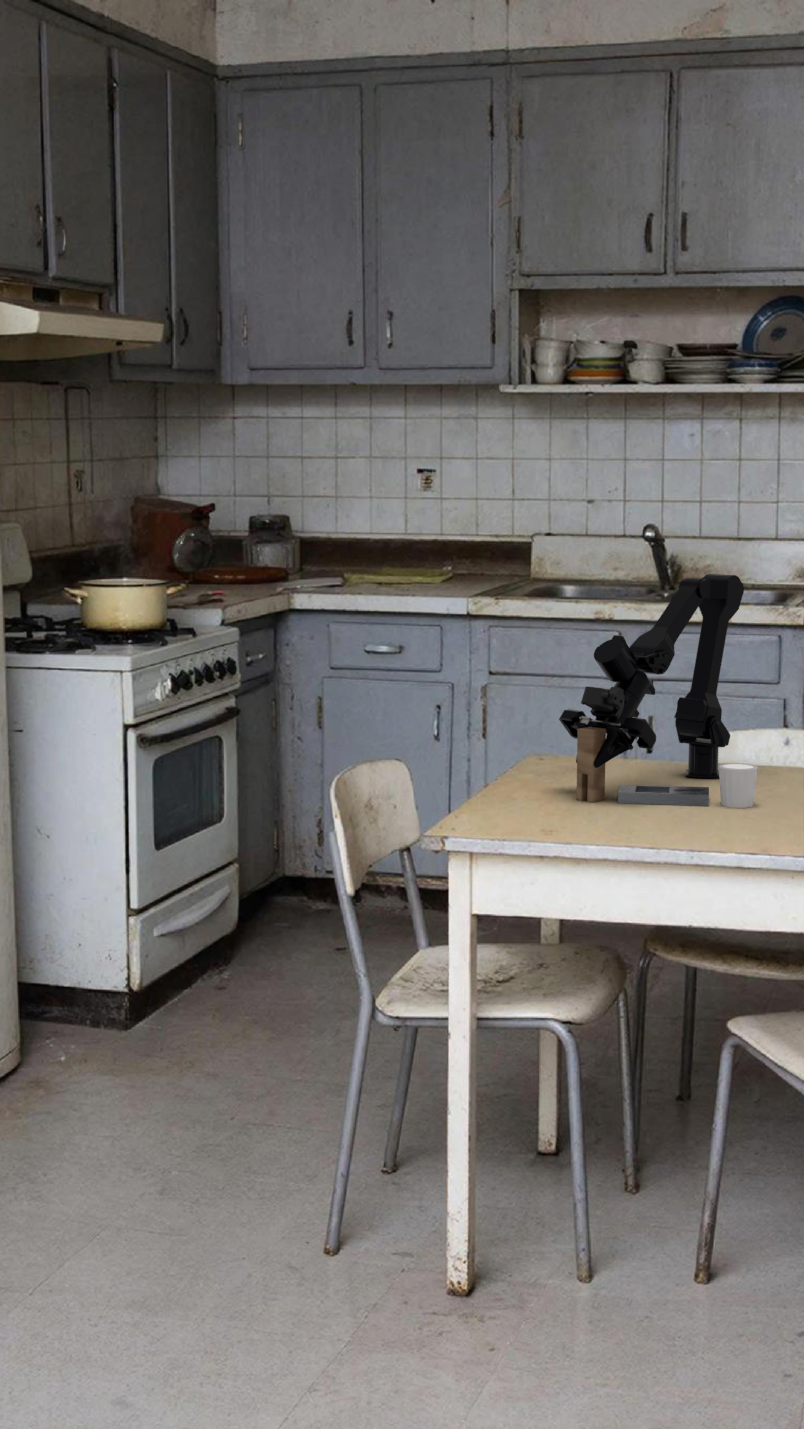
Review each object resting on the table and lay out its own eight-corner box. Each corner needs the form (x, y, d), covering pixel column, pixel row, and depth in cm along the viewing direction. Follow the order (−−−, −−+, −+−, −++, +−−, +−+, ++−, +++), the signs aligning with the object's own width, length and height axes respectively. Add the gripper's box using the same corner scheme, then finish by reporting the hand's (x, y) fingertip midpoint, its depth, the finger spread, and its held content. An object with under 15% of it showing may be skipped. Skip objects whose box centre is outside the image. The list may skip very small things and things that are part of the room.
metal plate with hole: (619, 795, 308) (620, 783, 308) (708, 798, 305) (708, 786, 305) (617, 803, 301) (618, 791, 300) (708, 806, 298) (708, 794, 298)
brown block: (589, 797, 306) (590, 726, 304) (604, 799, 304) (605, 728, 302) (576, 799, 304) (577, 728, 302) (592, 802, 301) (593, 731, 299)
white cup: (712, 806, 298) (713, 767, 297) (724, 799, 304) (725, 761, 303) (750, 809, 295) (751, 770, 294) (761, 803, 301) (762, 764, 300)
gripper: (566, 665, 310) (526, 731, 303) (648, 674, 296) (608, 743, 290) (592, 703, 316) (553, 769, 310) (673, 713, 303) (635, 782, 297)
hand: (586, 765), depth 302 cm, fingers closed on brown block, 4 cm apart
